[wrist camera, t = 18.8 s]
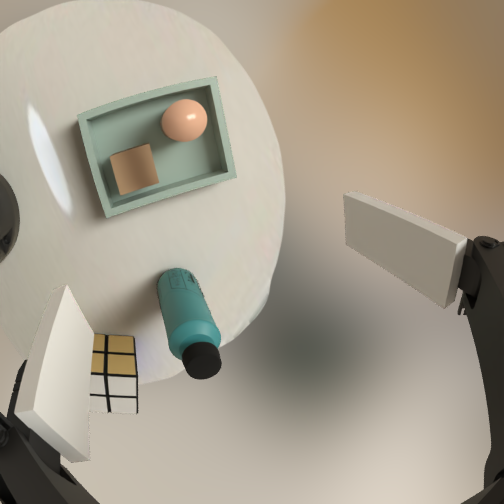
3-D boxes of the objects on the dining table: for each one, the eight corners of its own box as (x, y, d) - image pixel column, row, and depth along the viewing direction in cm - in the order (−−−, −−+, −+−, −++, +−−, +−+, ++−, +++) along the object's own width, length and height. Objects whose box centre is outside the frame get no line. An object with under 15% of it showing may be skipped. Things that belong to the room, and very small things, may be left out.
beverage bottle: (148, 290, 45) (163, 383, 28) (167, 254, 44) (190, 338, 27) (184, 303, 48) (215, 394, 31) (203, 270, 47) (245, 353, 30)
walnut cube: (122, 188, 37) (120, 195, 33) (113, 153, 35) (109, 156, 31) (157, 176, 38) (159, 182, 34) (148, 142, 36) (149, 143, 32)
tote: (109, 210, 38) (106, 218, 35) (83, 116, 32) (77, 114, 28) (228, 173, 42) (237, 177, 39) (209, 81, 36) (216, 76, 32)
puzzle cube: (134, 375, 50) (138, 415, 42) (84, 372, 46) (81, 412, 38) (134, 335, 47) (138, 376, 39) (79, 331, 43) (73, 371, 34)
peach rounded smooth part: (164, 144, 37) (168, 146, 31) (156, 109, 35) (159, 105, 29) (199, 135, 38) (210, 136, 32) (192, 101, 36) (202, 95, 30)
